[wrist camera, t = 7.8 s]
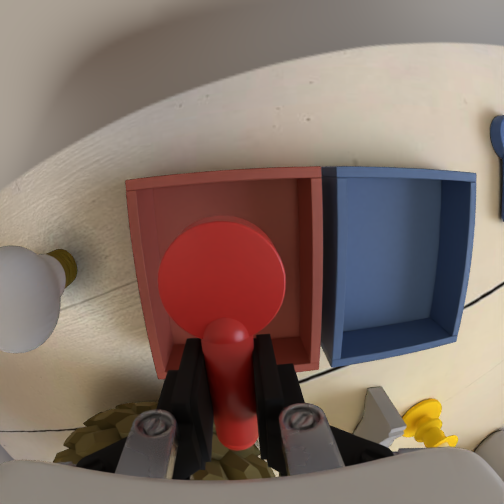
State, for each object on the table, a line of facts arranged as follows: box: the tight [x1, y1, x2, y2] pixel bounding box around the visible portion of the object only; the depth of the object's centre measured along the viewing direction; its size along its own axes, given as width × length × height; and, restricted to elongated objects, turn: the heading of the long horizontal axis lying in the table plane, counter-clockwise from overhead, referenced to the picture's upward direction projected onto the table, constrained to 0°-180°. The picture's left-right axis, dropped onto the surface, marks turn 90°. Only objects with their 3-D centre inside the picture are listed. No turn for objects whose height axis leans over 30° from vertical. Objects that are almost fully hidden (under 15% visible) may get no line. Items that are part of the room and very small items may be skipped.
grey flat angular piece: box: [353, 387, 407, 447], centre depth 23 cm, size 6×1×10 cm
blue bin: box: [320, 166, 476, 367], centre depth 19 cm, size 12×10×4 cm
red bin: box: [125, 166, 323, 379], centre depth 19 cm, size 12×10×4 cm
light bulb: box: [0, 246, 77, 353], centre depth 15 cm, size 6×6×10 cm
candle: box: [402, 399, 458, 448], centre depth 18 cm, size 5×5×16 cm
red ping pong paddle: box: [157, 215, 286, 451], centre depth 11 cm, size 10×4×2 cm, turn 3°
